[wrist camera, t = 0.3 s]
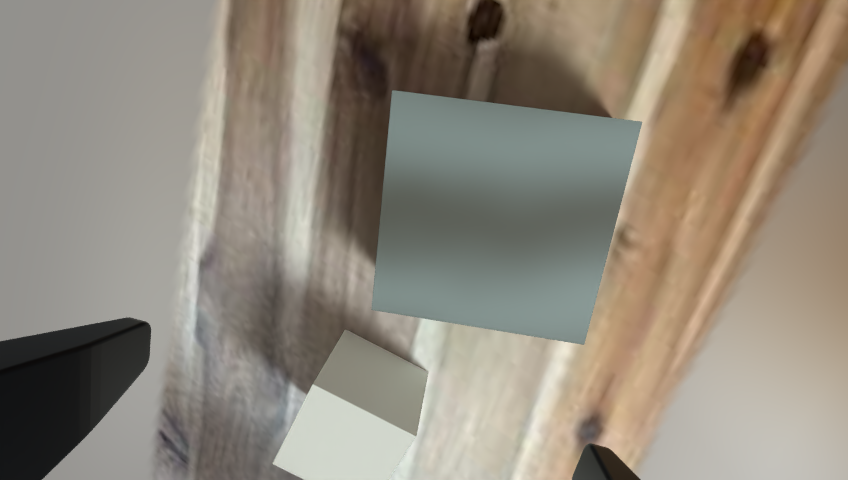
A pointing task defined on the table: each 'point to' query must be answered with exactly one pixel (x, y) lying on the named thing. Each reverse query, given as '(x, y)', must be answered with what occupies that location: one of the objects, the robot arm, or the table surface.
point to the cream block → (355, 415)
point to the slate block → (498, 213)
